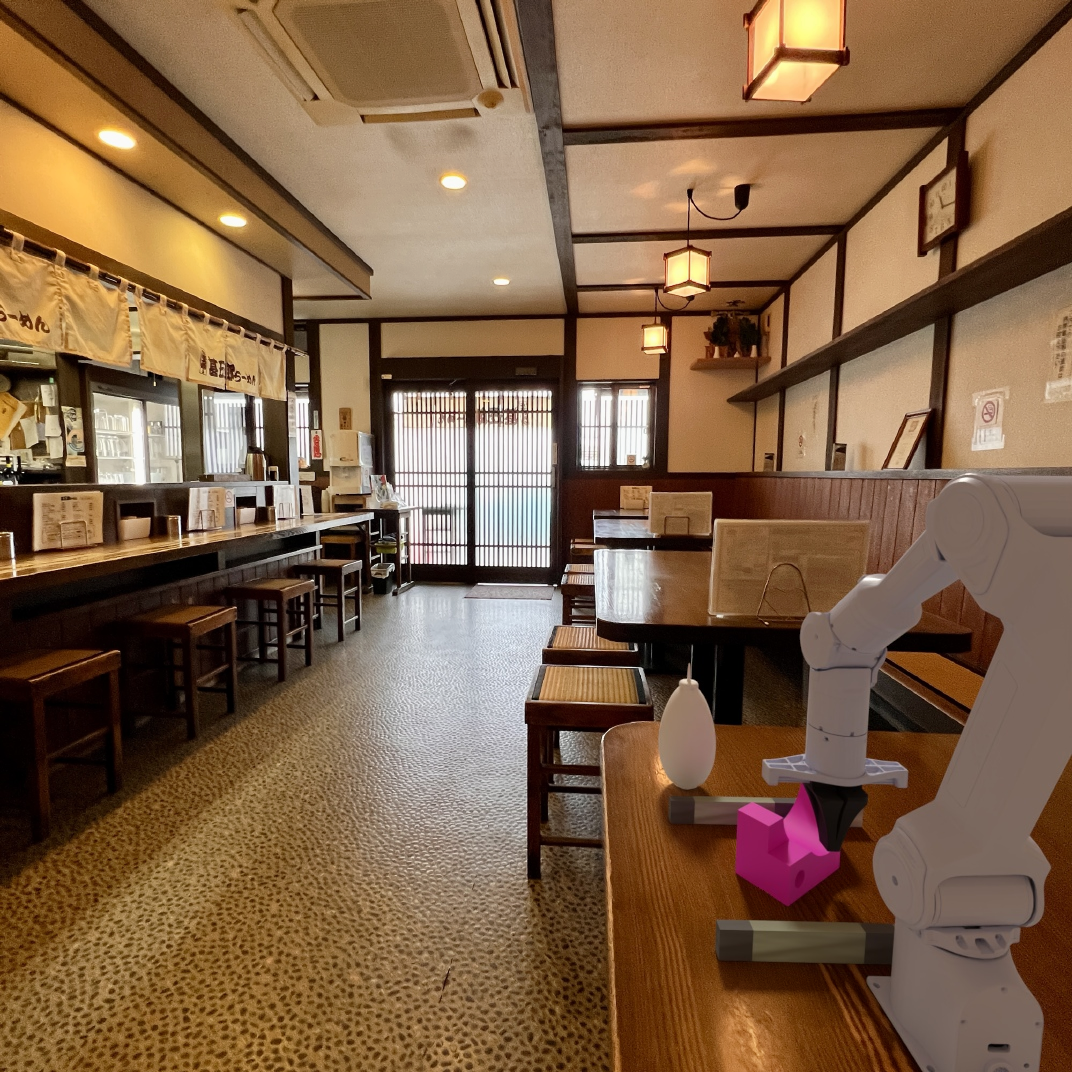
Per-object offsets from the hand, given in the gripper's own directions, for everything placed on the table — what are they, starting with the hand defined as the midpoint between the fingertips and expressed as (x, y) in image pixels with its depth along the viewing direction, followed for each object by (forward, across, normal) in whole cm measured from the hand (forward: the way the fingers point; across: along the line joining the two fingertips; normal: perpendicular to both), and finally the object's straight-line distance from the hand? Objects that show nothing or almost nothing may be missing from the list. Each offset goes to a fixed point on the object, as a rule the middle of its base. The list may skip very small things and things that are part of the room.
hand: (829, 845), depth 63 cm
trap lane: (+4, +3, 0) cm, 5 cm away
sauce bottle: (+4, +11, -19) cm, 22 cm away
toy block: (+4, +2, -3) cm, 5 cm away
